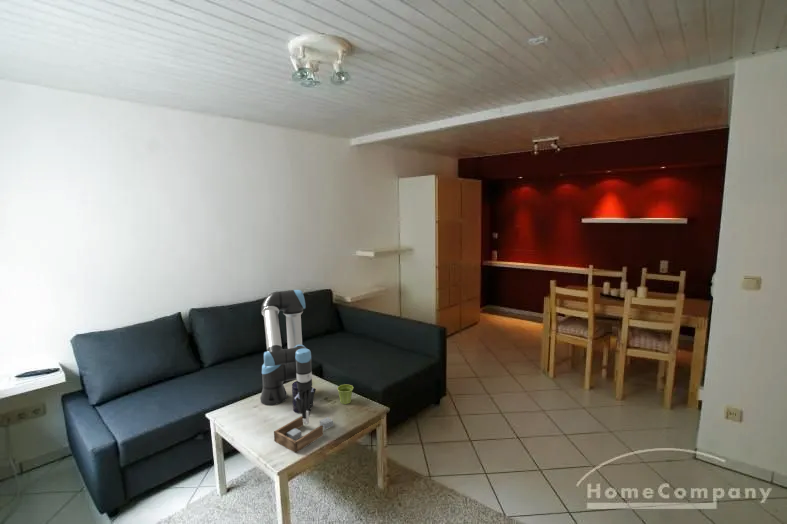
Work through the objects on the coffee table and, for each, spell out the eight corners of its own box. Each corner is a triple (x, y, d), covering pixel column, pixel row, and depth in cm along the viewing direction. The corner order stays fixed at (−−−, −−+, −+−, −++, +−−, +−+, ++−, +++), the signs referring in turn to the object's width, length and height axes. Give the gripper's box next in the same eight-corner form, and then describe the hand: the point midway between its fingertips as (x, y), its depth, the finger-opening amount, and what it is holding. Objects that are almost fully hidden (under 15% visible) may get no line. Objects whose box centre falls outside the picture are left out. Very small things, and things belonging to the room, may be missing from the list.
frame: (274, 441, 181) (273, 431, 181) (301, 425, 195) (301, 416, 194) (295, 453, 172) (295, 442, 171) (323, 435, 185) (322, 425, 185)
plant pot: (355, 398, 223) (354, 384, 221) (351, 406, 213) (351, 391, 212) (339, 397, 223) (339, 384, 222) (335, 405, 214) (335, 391, 213)
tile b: (319, 426, 194) (319, 420, 194) (327, 422, 197) (327, 417, 197) (325, 430, 190) (324, 424, 190) (333, 426, 194) (333, 420, 193)
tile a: (286, 438, 184) (286, 432, 183) (295, 433, 188) (294, 427, 187) (293, 441, 181) (293, 436, 180) (301, 436, 185) (301, 431, 184)
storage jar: (302, 415, 204) (301, 389, 203) (289, 410, 209) (287, 385, 207) (314, 406, 213) (313, 382, 211) (301, 403, 218) (300, 378, 216)
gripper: (299, 386, 180) (301, 431, 184) (319, 376, 191) (320, 419, 194) (289, 382, 185) (291, 426, 188) (309, 373, 195) (311, 414, 199)
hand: (306, 422), depth 191 cm, fingers closed
